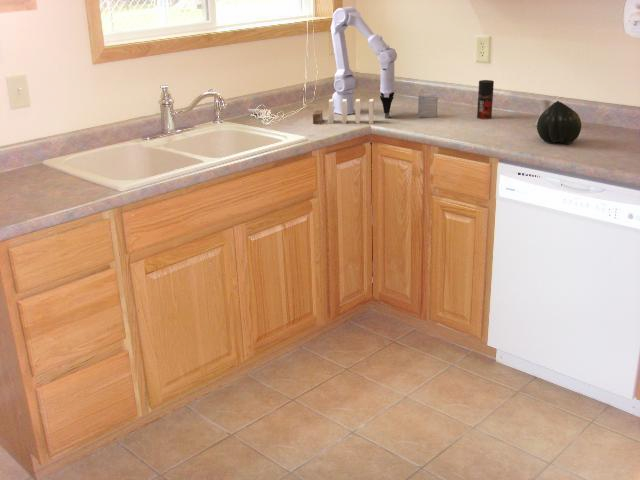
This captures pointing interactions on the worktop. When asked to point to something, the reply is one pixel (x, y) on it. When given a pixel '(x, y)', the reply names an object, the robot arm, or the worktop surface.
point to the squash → (559, 124)
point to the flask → (543, 108)
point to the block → (317, 117)
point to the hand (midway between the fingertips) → (387, 111)
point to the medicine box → (427, 105)
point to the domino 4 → (371, 110)
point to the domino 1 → (331, 110)
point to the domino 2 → (344, 110)
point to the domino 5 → (386, 115)
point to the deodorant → (485, 99)
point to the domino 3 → (357, 110)
